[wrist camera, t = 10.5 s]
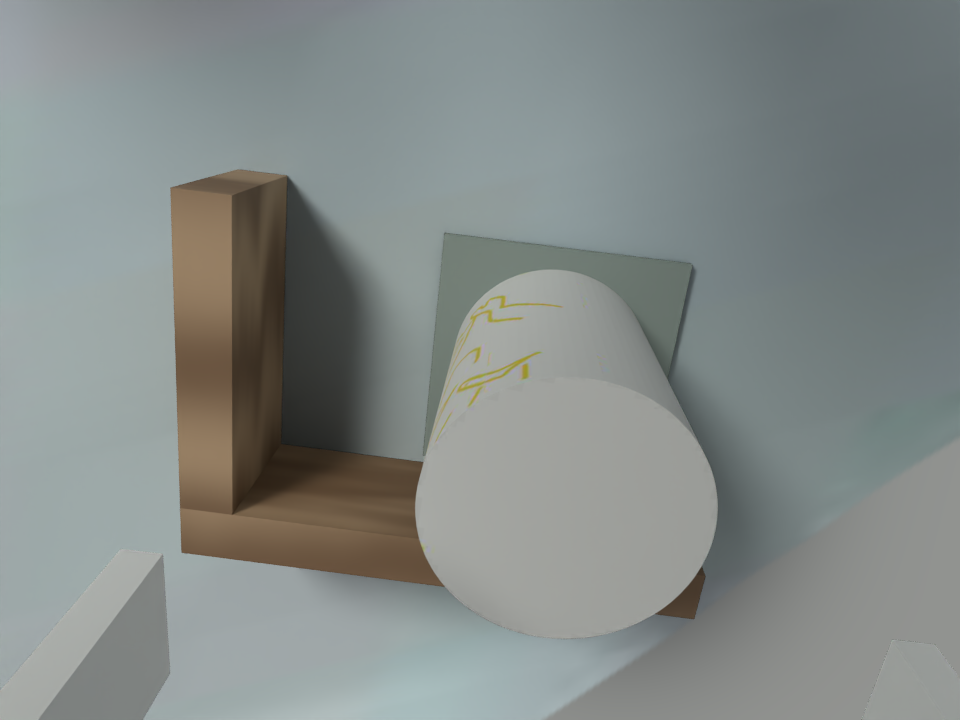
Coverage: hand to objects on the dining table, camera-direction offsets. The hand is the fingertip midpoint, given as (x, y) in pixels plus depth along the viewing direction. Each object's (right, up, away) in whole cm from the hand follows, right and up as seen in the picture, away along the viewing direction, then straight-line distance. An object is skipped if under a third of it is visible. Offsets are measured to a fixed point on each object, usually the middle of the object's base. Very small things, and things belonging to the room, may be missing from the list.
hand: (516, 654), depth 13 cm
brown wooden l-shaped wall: (0, +5, +18) cm, 19 cm away
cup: (+2, +5, +18) cm, 19 cm away
